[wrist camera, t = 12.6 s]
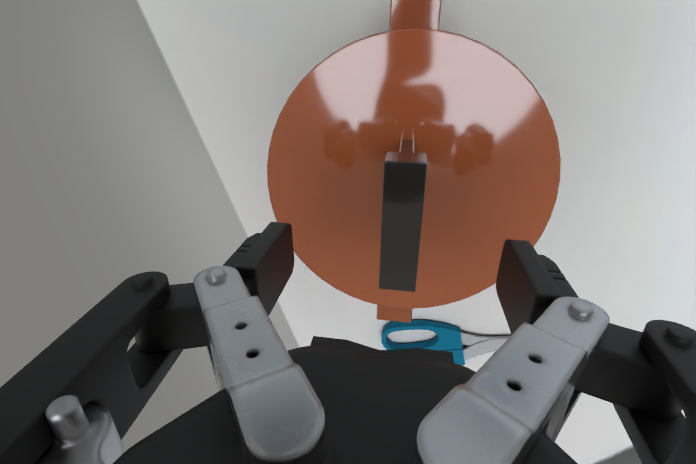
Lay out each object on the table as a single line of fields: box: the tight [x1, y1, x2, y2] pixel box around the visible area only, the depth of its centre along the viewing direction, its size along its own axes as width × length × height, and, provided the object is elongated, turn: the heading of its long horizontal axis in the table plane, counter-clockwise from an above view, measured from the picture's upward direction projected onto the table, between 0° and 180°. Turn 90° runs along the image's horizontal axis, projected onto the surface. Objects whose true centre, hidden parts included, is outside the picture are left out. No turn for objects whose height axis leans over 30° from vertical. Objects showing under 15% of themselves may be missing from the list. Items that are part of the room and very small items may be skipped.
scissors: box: [382, 320, 510, 365], centre depth 36 cm, size 7×1×20 cm
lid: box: [267, 28, 560, 308], centre depth 19 cm, size 16×16×6 cm
